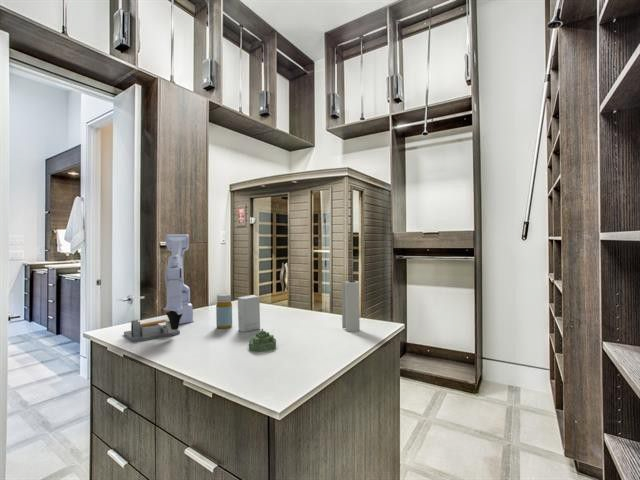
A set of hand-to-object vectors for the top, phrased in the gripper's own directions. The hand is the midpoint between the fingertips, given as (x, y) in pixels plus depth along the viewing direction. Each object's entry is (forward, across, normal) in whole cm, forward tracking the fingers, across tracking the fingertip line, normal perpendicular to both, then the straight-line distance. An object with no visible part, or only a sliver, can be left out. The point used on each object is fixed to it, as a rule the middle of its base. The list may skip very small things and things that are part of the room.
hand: (174, 329), depth 137 cm
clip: (+2, -7, 0) cm, 7 cm away
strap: (-1, -13, -6) cm, 14 cm away
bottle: (+4, -1, +22) cm, 23 cm away
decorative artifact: (+4, +37, +19) cm, 42 cm away
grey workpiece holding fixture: (+3, -13, -6) cm, 15 cm away
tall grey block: (+4, +44, +60) cm, 75 cm away
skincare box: (+4, +11, +28) cm, 31 cm away
